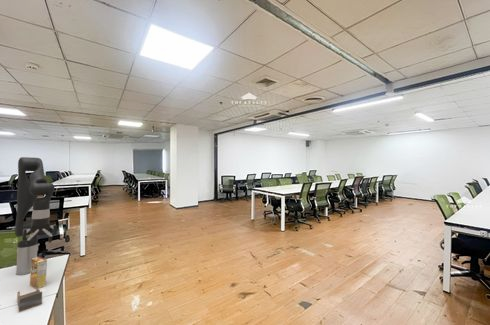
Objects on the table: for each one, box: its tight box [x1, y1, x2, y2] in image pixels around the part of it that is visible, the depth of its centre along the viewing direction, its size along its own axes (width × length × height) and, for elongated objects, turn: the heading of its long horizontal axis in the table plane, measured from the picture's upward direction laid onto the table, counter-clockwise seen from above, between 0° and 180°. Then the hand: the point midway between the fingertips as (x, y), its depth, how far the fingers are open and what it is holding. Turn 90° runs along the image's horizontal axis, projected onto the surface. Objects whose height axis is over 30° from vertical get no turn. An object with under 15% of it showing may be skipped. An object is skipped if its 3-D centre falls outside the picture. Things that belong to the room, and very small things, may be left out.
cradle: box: [16, 286, 43, 313], centre depth 108 cm, size 15×8×6 cm, turn 50°
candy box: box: [29, 256, 48, 289], centre depth 122 cm, size 9×4×15 cm, turn 66°
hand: (39, 244), depth 123 cm, fingers open, 8 cm apart
